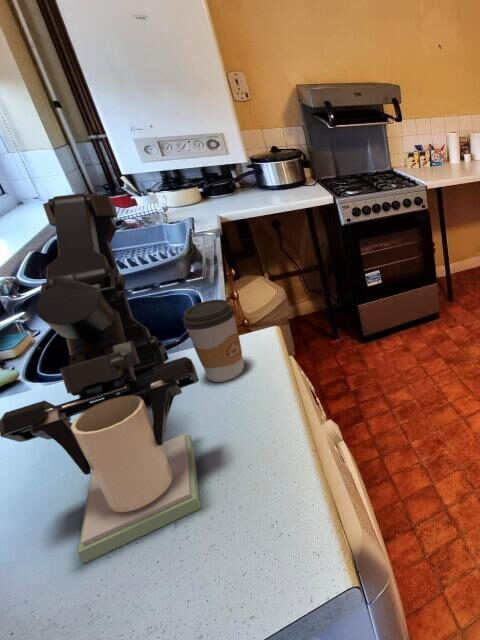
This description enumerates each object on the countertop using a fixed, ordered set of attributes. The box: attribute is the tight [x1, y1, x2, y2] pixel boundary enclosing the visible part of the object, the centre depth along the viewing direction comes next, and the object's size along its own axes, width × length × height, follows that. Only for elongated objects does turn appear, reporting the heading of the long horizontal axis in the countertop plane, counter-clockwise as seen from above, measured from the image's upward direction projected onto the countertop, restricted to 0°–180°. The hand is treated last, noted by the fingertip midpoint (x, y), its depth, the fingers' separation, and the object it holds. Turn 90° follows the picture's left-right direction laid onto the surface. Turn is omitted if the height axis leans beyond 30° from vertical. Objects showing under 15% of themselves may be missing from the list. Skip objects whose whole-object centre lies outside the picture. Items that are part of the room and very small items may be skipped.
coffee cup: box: [182, 299, 245, 383], centre depth 86 cm, size 8×8×15 cm
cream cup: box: [71, 395, 173, 512], centre depth 57 cm, size 7×7×13 cm
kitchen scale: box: [77, 433, 201, 564], centre depth 62 cm, size 15×12×3 cm
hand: (125, 459), depth 56 cm, fingers closed on cream cup, 7 cm apart
